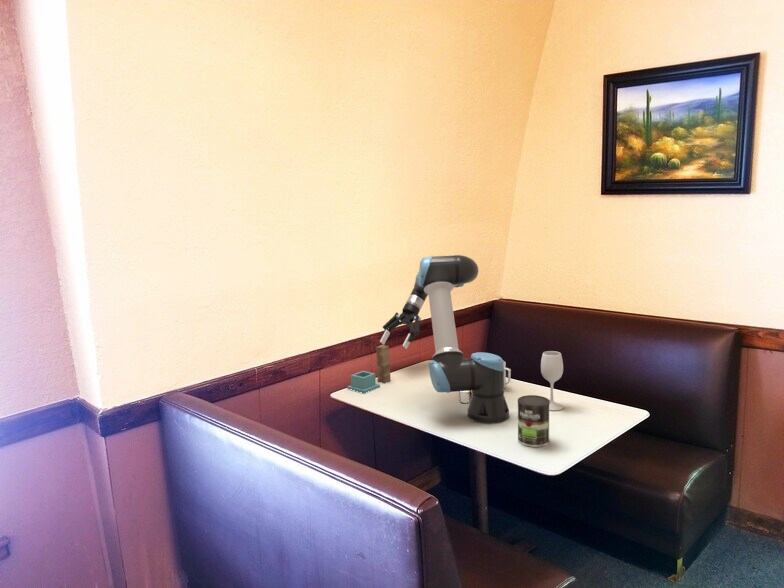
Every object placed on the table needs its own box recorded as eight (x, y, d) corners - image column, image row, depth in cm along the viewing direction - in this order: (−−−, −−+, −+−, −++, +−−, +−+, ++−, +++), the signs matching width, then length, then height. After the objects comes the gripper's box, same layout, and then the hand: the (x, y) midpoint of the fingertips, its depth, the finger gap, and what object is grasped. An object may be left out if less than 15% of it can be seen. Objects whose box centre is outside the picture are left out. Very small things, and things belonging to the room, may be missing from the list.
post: (390, 381, 268) (389, 346, 266) (384, 383, 265) (383, 348, 263) (383, 379, 271) (382, 344, 268) (377, 381, 268) (376, 346, 265)
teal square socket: (380, 387, 260) (379, 373, 259) (364, 393, 253) (363, 379, 252) (363, 383, 267) (362, 369, 266) (347, 389, 260) (346, 375, 258)
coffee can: (544, 449, 192) (544, 407, 190) (513, 443, 198) (512, 402, 195) (553, 437, 201) (553, 397, 199) (523, 432, 206) (523, 393, 204)
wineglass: (539, 402, 234) (539, 350, 231) (562, 403, 232) (563, 350, 229) (540, 410, 226) (540, 356, 222) (564, 411, 224) (564, 356, 220)
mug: (480, 388, 253) (479, 363, 251) (492, 383, 259) (492, 358, 257) (503, 394, 245) (503, 368, 243) (516, 389, 251) (516, 363, 249)
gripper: (438, 314, 274) (418, 353, 266) (396, 308, 291) (377, 345, 282) (430, 304, 270) (410, 344, 261) (388, 299, 286) (368, 337, 277)
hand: (393, 345), depth 272 cm, fingers open, 13 cm apart
